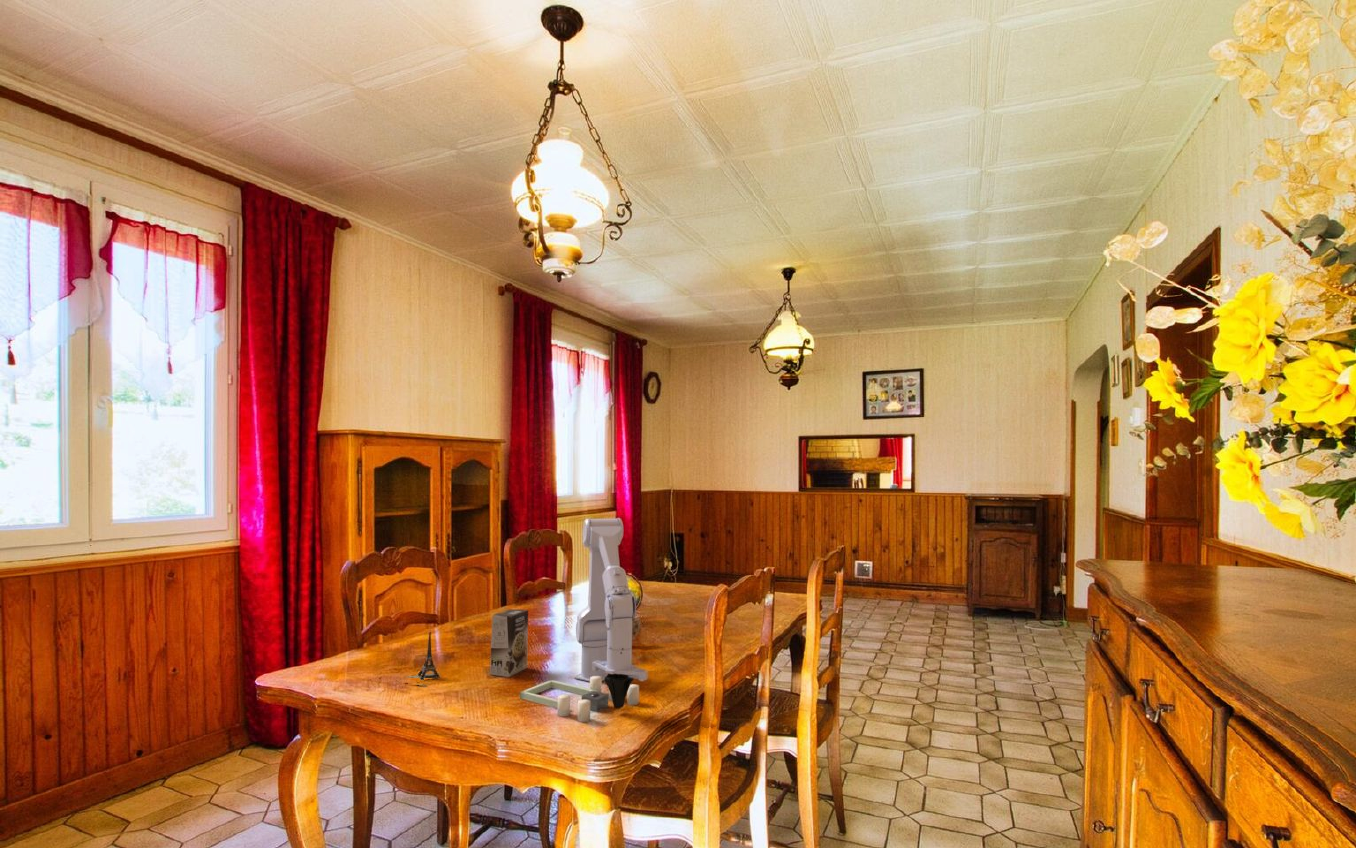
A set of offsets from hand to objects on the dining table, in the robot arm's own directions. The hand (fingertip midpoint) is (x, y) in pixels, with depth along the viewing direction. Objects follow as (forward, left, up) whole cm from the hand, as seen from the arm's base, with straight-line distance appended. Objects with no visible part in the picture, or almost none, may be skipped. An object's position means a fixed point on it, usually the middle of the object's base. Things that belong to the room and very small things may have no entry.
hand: (618, 707), depth 151 cm
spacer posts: (0, -7, -1) cm, 7 cm away
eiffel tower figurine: (+7, -59, -2) cm, 60 cm away
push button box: (0, -7, -2) cm, 7 cm away
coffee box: (-8, -44, -2) cm, 45 cm away
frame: (0, -18, -1) cm, 19 cm away
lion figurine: (-45, -34, -2) cm, 57 cm away
